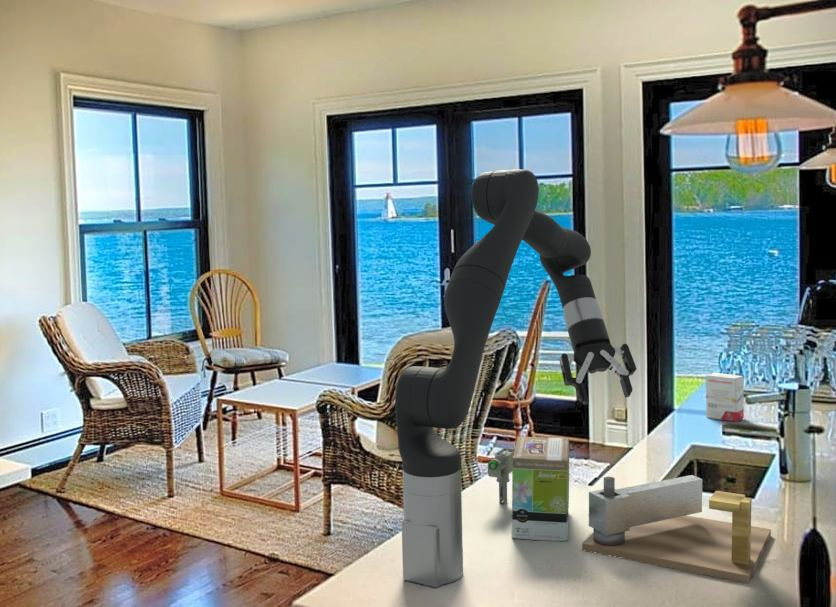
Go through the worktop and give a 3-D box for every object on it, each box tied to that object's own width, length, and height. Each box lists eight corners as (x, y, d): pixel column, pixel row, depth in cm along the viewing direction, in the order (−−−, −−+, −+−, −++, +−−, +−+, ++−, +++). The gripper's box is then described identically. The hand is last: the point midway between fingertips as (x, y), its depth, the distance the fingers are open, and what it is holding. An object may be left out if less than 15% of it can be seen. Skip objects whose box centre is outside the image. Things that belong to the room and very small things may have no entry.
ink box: (744, 419, 224) (745, 375, 223) (736, 422, 221) (736, 378, 219) (713, 414, 230) (714, 371, 229) (704, 417, 227) (705, 374, 226)
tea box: (569, 542, 145) (568, 459, 143) (510, 540, 147) (509, 457, 145) (569, 511, 160) (569, 435, 158) (516, 509, 161) (515, 434, 160)
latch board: (748, 583, 128) (750, 507, 126) (582, 550, 141) (581, 481, 140) (770, 535, 145) (772, 468, 144) (620, 510, 159) (621, 449, 158)
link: (606, 535, 139) (606, 500, 138) (588, 525, 143) (588, 491, 143) (706, 514, 148) (706, 480, 147) (687, 505, 152) (687, 473, 151)
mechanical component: (486, 510, 161) (485, 460, 160) (505, 494, 170) (505, 446, 169) (500, 513, 160) (499, 461, 158) (519, 496, 169) (519, 447, 167)
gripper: (554, 322, 166) (575, 399, 159) (623, 311, 168) (647, 387, 161) (548, 337, 173) (568, 411, 166) (614, 326, 174) (637, 399, 168)
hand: (607, 399), depth 164 cm, fingers open, 8 cm apart
